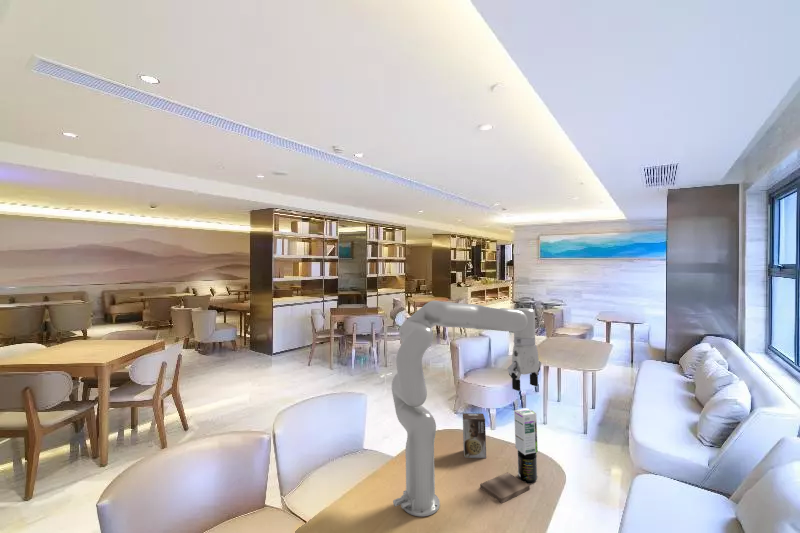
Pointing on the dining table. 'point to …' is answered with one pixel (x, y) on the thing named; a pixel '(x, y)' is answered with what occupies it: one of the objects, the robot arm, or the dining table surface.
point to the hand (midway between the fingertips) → (525, 387)
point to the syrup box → (525, 431)
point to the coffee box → (474, 435)
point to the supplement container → (527, 467)
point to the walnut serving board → (504, 487)
